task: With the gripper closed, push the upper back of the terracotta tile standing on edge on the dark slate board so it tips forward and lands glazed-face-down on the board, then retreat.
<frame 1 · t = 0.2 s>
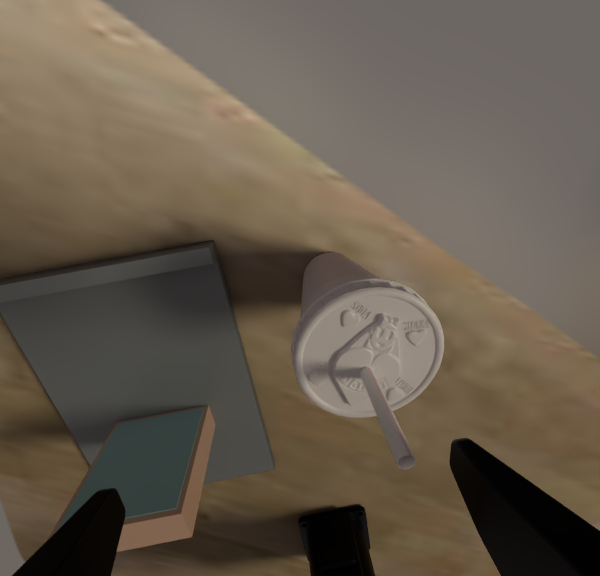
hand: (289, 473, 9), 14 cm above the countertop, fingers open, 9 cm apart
slate board: (157, 385, 24), on the countertop
smoothie: (329, 277, 22), on the countertop
tile: (166, 423, 24), point 1 cm above the countertop, touching slate board
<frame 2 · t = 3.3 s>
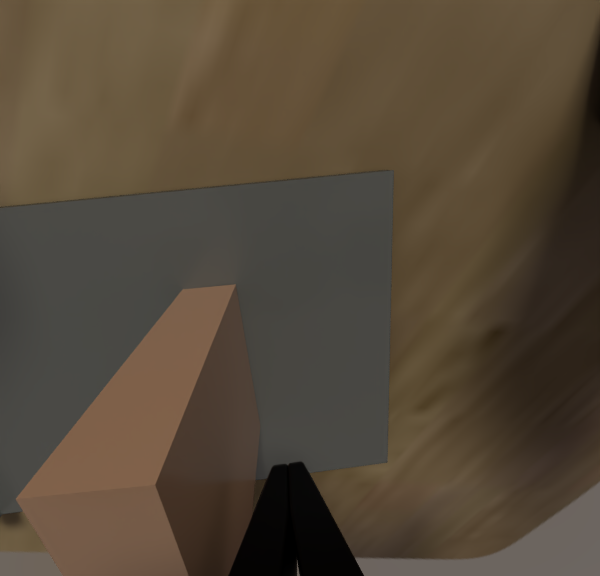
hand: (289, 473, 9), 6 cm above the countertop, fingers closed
slate board: (159, 361, 14), on the countertop
tile: (225, 364, 13), point 1 cm above the countertop, touching gripper, slate board
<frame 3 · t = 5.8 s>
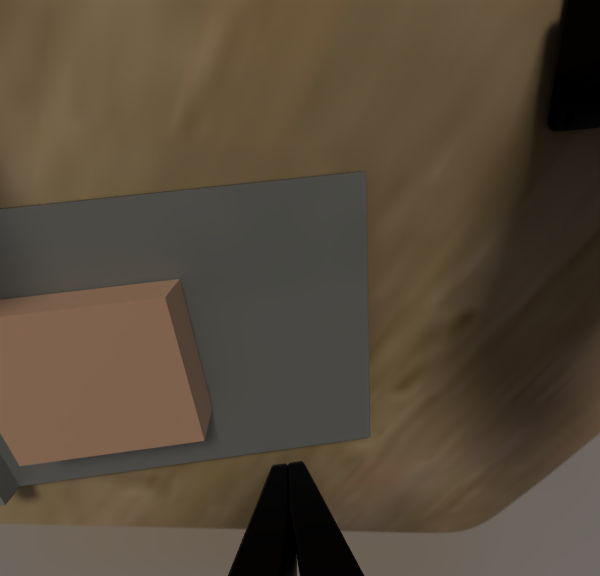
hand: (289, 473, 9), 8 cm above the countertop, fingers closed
slate board: (161, 344, 16), on the countertop
tile: (192, 362, 14), point 2 cm above the countertop, tilted 90°, touching slate board
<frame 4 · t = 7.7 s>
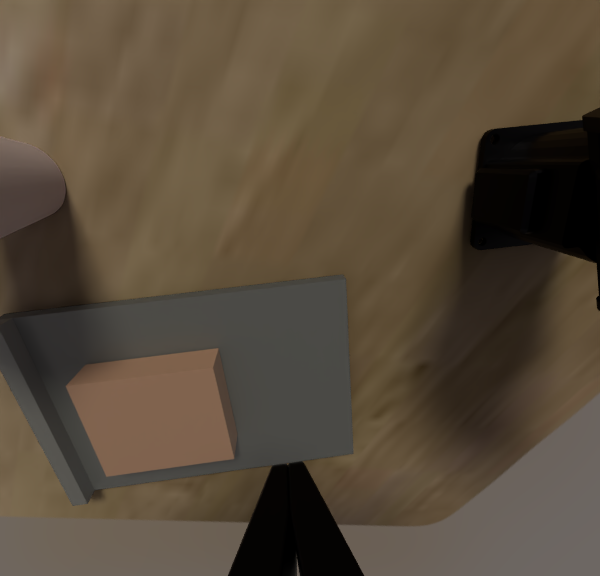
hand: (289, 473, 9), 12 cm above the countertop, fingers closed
slate board: (202, 388, 22), on the countertop
smoothie: (28, 180, 16), on the countertop
tile: (226, 404, 20), point 2 cm above the countertop, tilted 90°, touching slate board
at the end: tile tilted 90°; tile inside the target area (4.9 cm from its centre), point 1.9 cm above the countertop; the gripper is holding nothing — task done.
